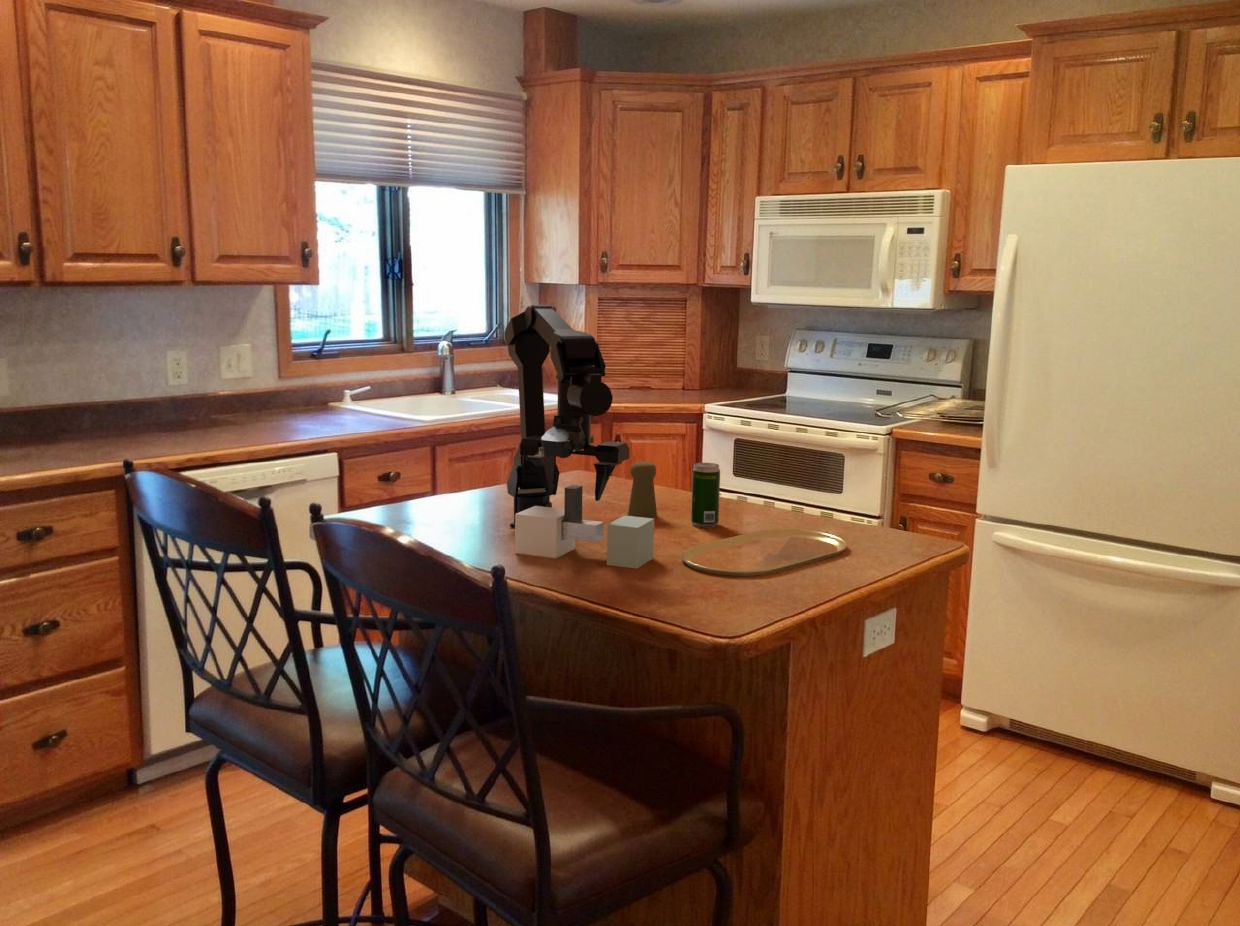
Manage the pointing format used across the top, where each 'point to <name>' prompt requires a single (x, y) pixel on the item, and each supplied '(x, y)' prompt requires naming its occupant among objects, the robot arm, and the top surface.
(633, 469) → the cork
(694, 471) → the beer can
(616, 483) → the top surface
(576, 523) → the grey bridging bar
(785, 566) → the serving platter
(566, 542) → the sleeve
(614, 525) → the socket block
